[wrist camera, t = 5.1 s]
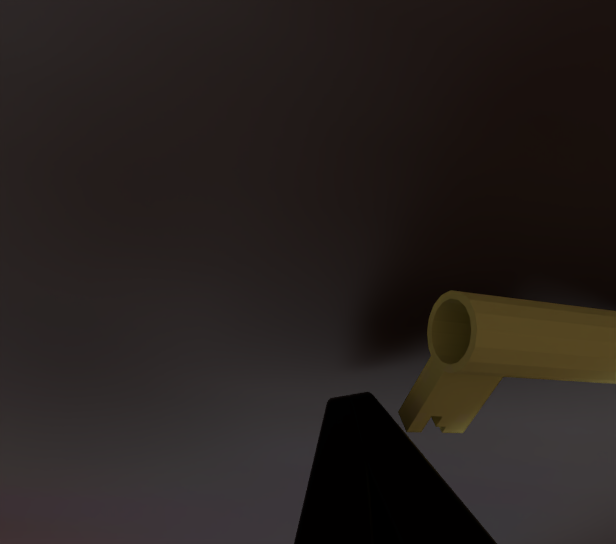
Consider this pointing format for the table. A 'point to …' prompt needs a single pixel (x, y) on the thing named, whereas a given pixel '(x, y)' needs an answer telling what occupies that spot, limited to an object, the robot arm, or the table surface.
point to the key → (503, 353)
